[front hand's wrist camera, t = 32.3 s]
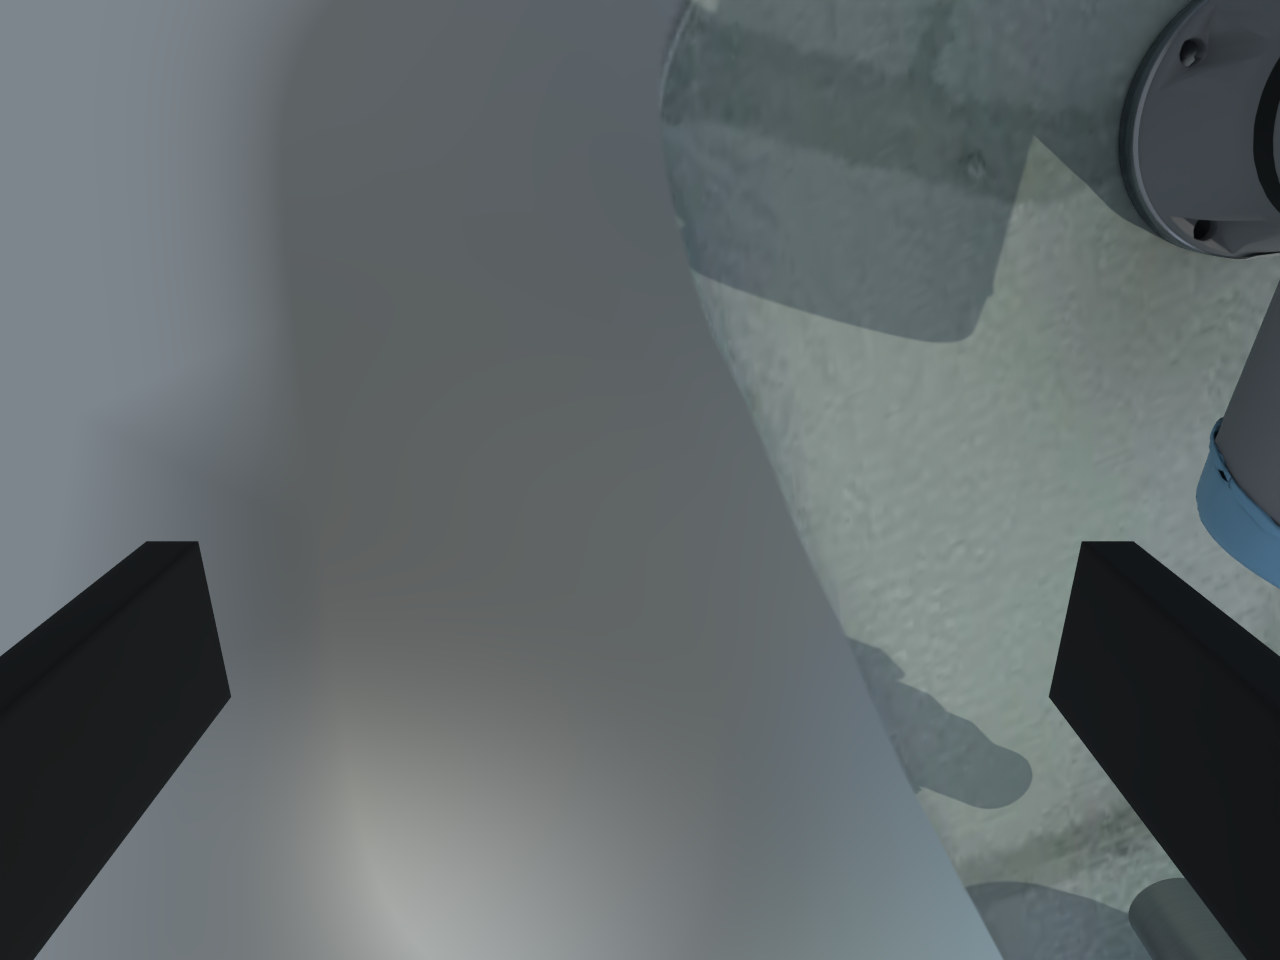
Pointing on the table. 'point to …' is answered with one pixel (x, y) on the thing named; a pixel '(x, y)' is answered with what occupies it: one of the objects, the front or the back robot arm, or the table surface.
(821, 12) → the table surface
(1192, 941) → the tin
